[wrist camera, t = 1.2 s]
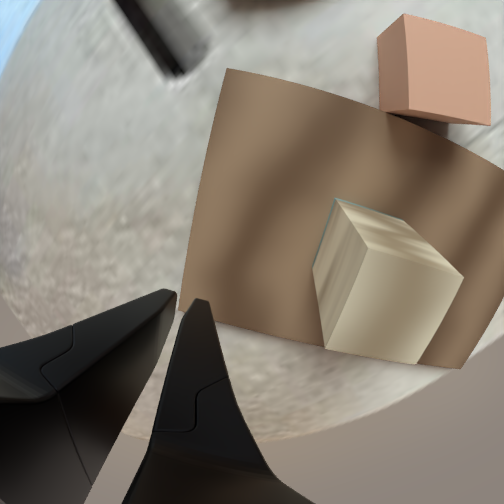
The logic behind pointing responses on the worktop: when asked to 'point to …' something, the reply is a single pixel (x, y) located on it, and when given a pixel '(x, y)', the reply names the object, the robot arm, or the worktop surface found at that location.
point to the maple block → (379, 285)
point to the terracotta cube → (434, 72)
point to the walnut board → (320, 203)
